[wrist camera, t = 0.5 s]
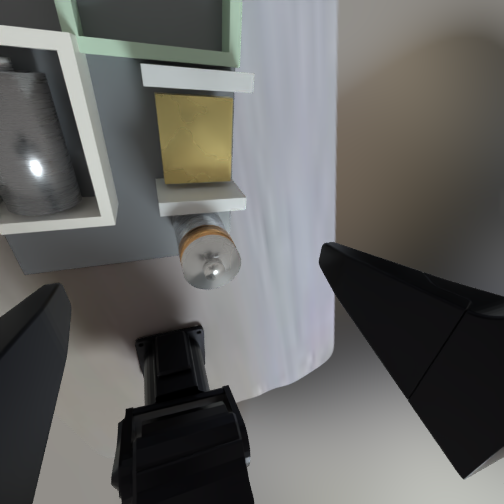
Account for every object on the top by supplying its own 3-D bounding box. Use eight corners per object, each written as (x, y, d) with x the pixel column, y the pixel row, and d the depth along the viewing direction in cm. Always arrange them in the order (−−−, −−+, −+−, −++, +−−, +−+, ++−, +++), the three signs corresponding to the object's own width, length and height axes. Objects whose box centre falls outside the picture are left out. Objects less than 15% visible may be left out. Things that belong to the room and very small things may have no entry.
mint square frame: (227, 245, 23) (243, 278, 20) (27, 269, 19) (1, 318, 15) (236, -95, 13) (275, -158, 9) (-220, -228, 8) (-502, -455, 5)
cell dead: (86, 189, 17) (76, 213, 14) (20, 192, 15) (-5, 218, 13) (50, 60, 13) (26, 59, 10) (-40, 52, 12) (-92, 49, 9)
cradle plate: (226, 176, 18) (230, 181, 17) (163, 178, 17) (165, 184, 16) (228, 96, 15) (233, 98, 14) (154, 92, 14) (155, 94, 13)
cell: (218, 237, 22) (242, 289, 17) (174, 242, 21) (185, 299, 16) (218, 197, 20) (245, 242, 15) (169, 200, 19) (181, 250, 14)
